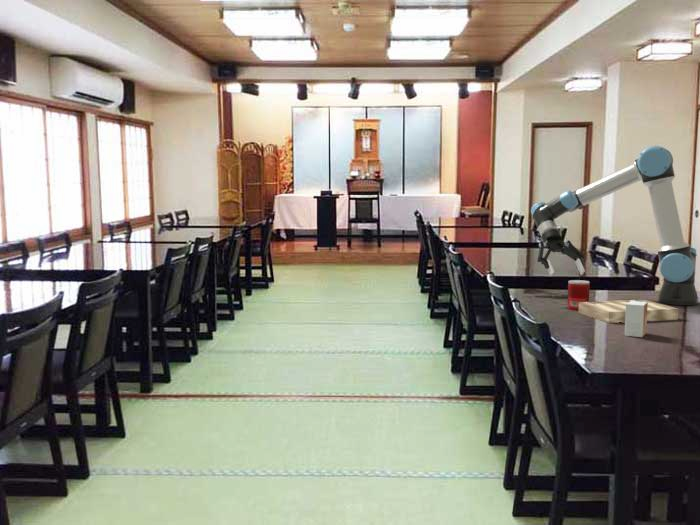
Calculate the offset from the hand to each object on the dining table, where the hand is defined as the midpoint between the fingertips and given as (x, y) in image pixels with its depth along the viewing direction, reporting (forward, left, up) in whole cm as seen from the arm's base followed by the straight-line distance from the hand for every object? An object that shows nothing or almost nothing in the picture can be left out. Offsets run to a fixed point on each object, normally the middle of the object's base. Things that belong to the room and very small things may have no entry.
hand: (567, 273), depth 273 cm
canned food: (0, +8, -13) cm, 15 cm away
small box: (+6, +53, -13) cm, 55 cm away
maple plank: (-10, +25, -13) cm, 30 cm away
